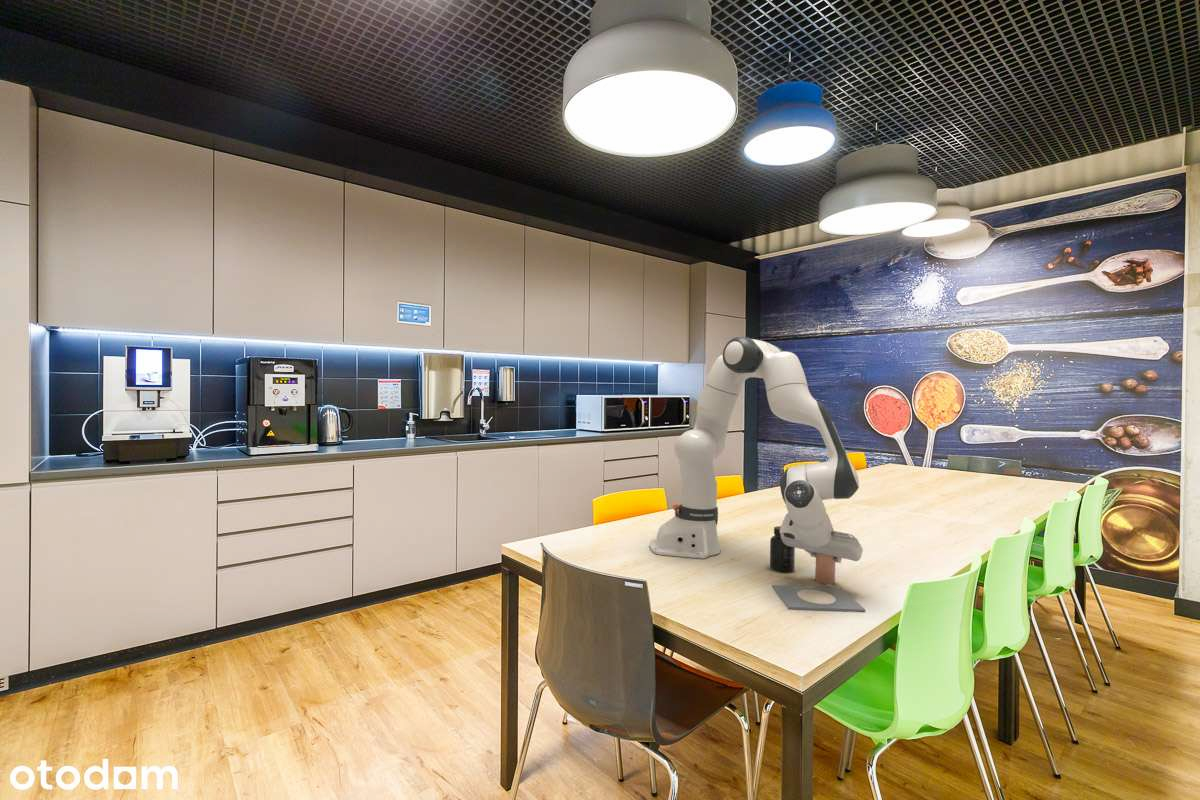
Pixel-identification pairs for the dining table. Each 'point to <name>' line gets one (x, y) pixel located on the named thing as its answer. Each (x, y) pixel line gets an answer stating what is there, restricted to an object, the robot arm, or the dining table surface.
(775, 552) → the supplement bottle
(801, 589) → the card
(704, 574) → the dining table surface
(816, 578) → the terracotta tube
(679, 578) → the dining table surface
